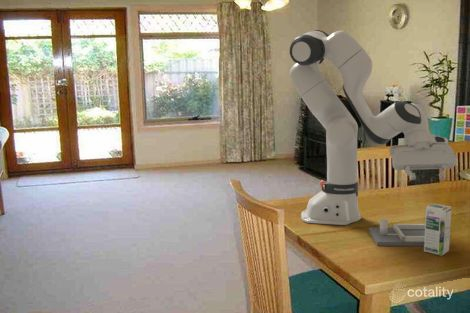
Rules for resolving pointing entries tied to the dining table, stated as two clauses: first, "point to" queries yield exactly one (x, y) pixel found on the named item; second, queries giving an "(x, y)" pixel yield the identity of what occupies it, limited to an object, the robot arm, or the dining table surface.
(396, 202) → the dining table surface
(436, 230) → the syrup box
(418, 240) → the grey holder tray
